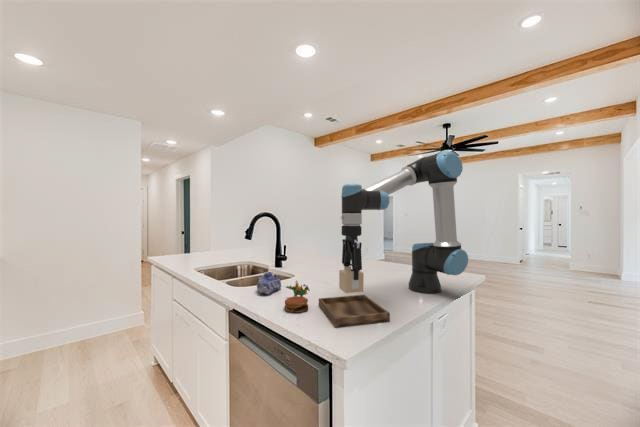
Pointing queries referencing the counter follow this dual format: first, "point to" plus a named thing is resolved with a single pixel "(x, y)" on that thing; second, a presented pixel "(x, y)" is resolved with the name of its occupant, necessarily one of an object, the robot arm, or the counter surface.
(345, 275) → the tan block
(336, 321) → the tray
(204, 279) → the counter surface
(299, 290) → the figurine
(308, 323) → the counter surface
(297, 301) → the burger
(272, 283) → the mineral
